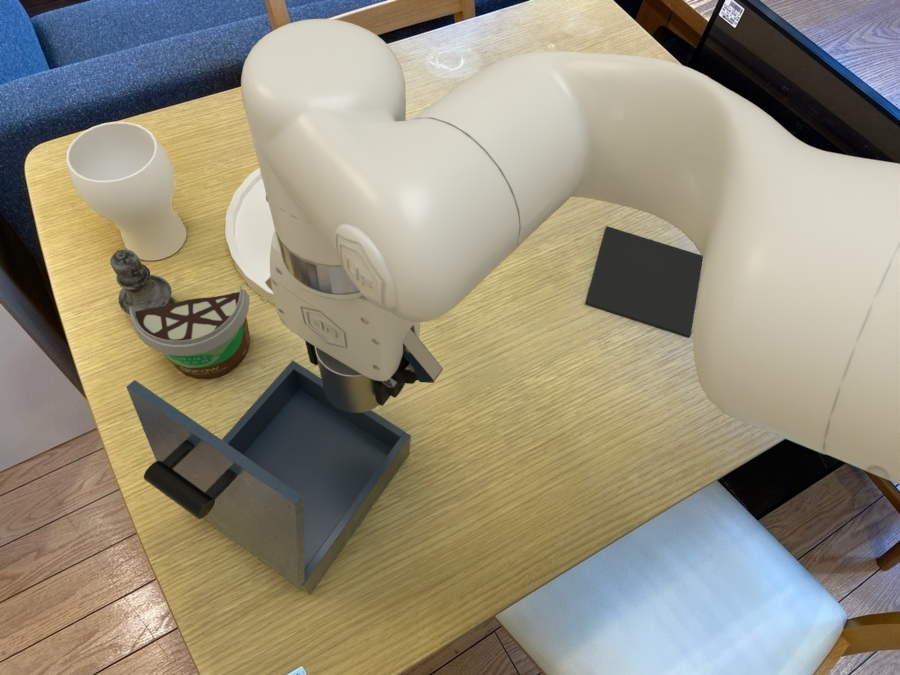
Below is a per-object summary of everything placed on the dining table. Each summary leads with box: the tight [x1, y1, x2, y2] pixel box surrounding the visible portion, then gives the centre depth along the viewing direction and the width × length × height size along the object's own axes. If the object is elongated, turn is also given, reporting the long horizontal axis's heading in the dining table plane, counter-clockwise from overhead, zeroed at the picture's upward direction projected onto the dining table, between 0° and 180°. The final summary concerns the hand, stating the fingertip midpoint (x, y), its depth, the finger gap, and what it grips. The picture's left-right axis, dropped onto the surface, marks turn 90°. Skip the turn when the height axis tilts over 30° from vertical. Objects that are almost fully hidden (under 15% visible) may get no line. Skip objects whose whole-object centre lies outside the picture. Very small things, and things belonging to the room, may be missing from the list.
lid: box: [126, 379, 305, 589], centre depth 50 cm, size 18×16×5 cm
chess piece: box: [109, 248, 177, 316], centre depth 71 cm, size 6×6×12 cm
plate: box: [224, 166, 276, 306], centre depth 84 cm, size 28×28×2 cm
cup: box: [65, 121, 188, 261], centre depth 76 cm, size 11×11×15 cm
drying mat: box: [584, 225, 703, 338], centre depth 85 cm, size 14×14×1 cm
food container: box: [129, 285, 251, 380], centre depth 69 cm, size 12×6×10 cm, turn 106°
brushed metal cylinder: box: [315, 347, 381, 413], centre depth 52 cm, size 6×6×7 cm
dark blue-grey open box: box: [221, 360, 412, 596], centre depth 65 cm, size 18×16×6 cm
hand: (356, 370), depth 53 cm, fingers closed on brushed metal cylinder, 6 cm apart
